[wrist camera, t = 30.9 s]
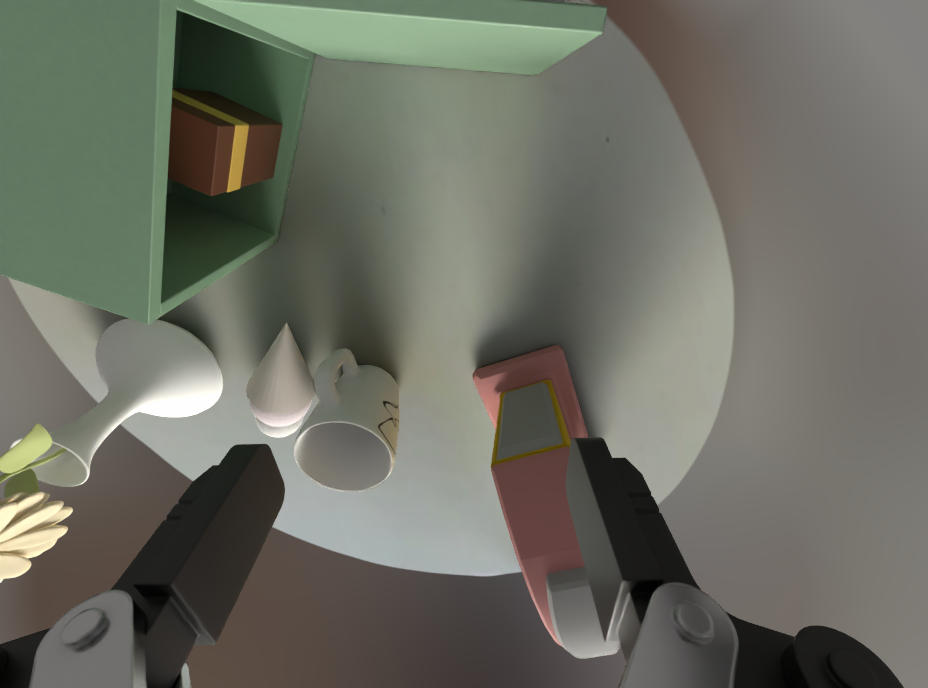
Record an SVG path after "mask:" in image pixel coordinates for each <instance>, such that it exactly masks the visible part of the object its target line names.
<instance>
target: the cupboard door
mask: <svg viewBox="0 0 928 688" xmlns="http://www.w3.org/2000/svg"><path fill="white" fill-rule="evenodd" d="M194 1H196V2H198V3H201V4H203V5H205V6H208V7H210V8H212V9H215V10H217V11H219V12H221V13H224V14H226V15H228V16H231V17H233V18H235V19H238V20H240V21H242V22H244V23H247V24H249V25H251V26H254V27H256V28H258V29H261V30H263V31H265V32H268V33H270V34H272V35H274V36H277V37H279V38H281V39H284V40H286V41H288V42H291V43H293V44H295V45H297V46H300V47H302V48H304V49H307V50H309V51H311V52H314V53H316V54H318V55H321V56H323V57H325V58H328V59H341V60H353V61H365V62H378V63H390V64H402V65H415V66H427V67H440V68H452V69H464V70H477V71H489V72H501V73H514V74H526V75H537V74H539V73H541V72H542V71H544V70H545V69H547V68H548V67H550V66H552V65H553V64H555V63H556V62H558V61H559V60H561V59H563V58H564V57H566V56H567V55H569V54H570V53H572V52H574V51H575V50H577V49H578V48H580V47H581V46H583V45H585V44H586V43H588V42H589V41H591V40H592V39H594V38H596V37H597V36H599V35H600V34H602V32H603V29H604V24H605V18H606V13H607V7H606V6H601V5H589V4H578V3H566V2H564V1H565V0H194Z"/></svg>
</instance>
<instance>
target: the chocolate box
mask: <svg viewBox="0 0 928 688" xmlns="http://www.w3.org/2000/svg"><path fill="white" fill-rule="evenodd" d="M282 126H283V124H282V123H280V122H277V121H275V120H273V119H271V118H269V117H267V116H264V115H262V114H260V113H258V112H256V111H253V110H251V109H249V108H247V107H245V106H243V105H240V104H238V103H236V102H234V101H232V100H230V99H227V98H225V97H223V96H221V95H219V94H217V93H214V92H210V91H201V90H192V89H183V88H173V87H172V104H171V122H170V141H169V159H168V177H167V178H168V179H171V180H173V181H176V182H178V183H181V184H183V185H185V186H188V187H190V188H193V189H195V190H198V191H200V192H203V193H205V194H207V195H210V196H214V195H217V194H220V193H224V192H231V191H234V190H237V189H240V187H244V186H247V185H250V184H253V183H257V182H260V181H263V180H267V179H270V178H273V176H274V171H275V165H276V160H277V154H278V148H279V143H280V137H281V132H282Z"/></svg>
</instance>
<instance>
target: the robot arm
mask: <svg viewBox="0 0 928 688" xmlns="http://www.w3.org/2000/svg"><path fill="white" fill-rule="evenodd" d="M284 494H285V487H284V482H283V479H282V477H281V474H280V471H279V469H278V466H277V464H276V461H275V459H274V456H273V454H272V451H271V449H270V447H269V446H268V445H267V444H242V445H235V446H233V447H232V448H231V449H230V450H229V452H228V453H227V454H226V456H225V457H224V459H223V460H222V461H221V463H220V464H219V465H216V466H212V467H210V468H209V469H208V470H207V471H206V472H204V473H203V474H202V475H201V476H199V477H198V478H197V479H196V480H194V481H193V482H192V484H191V485H190V486H189V488H188V489H187V490H186V492H185V493H184V494H183V495H182V497H181V498H180V499H179V503H178V504H177V505H175V506H174V507H173V509H172V510H171V512H170V513H169V514H168V515H167V519H166V521H163V522H162V523H161V525H160V526H159V527H158V529H157V530H156V531H155V533H154V534H153V535H152V537H151V538H150V539H149V541H148V542H147V543H146V545H145V546H144V547H143V548H142V550H141V551H140V552H139V554H138V555H137V556H136V558H135V559H134V560H133V562H132V563H131V564H130V566H129V567H128V568H127V570H126V571H125V572H124V573H123V575H122V576H121V578H120V579H119V580H118V581H117V583H116V584H115V585H114V586H113V587H112V589H111V590H110V591H105V592H102V593H99V594H96V595H94V596H92V597H90V598H88V599H86V600H84V601H82V602H81V603H79V604H78V605H76V606H75V607H73V608H72V609H71V610H69V611H68V612H67V613H66V614H64V616H62V617H61V618H60V619H59V620H58V621H57V622H56V623H55V624H54V625H53V626H52V627H51V628H49V629H46V630H43V631H40V632H37V633H34V634H31V635H28V636H24V637H21V638H18V639H15V640H12V641H9V642H6V643H3V644H0V688H191V682H190V672H189V666H188V663H187V662H186V660H187V658H188V656H189V654H190V652H191V650H192V648H193V646H194V645H200V644H201V645H204V644H206V645H208V644H216V642H217V640H218V638H219V636H220V634H221V632H222V630H223V628H224V626H225V623H226V621H227V619H228V617H229V615H230V613H231V611H232V609H233V607H234V605H235V603H236V601H237V599H238V596H239V594H240V592H241V590H242V588H243V586H244V584H245V582H246V580H247V578H248V575H249V573H250V571H251V569H252V567H253V565H254V563H255V561H256V559H257V557H258V555H259V553H260V551H261V548H262V546H263V544H264V542H265V540H266V538H267V536H268V534H269V532H270V530H271V528H272V526H273V523H274V521H275V519H276V517H277V515H278V513H279V511H280V509H281V507H282V504H283V500H284ZM566 494H567V500H568V504H569V508H570V512H571V516H572V520H573V523H574V527H575V531H576V535H577V539H578V542H579V546H580V550H581V554H582V558H583V561H584V565H585V569H586V573H587V577H588V580H589V584H590V588H591V592H592V596H593V599H594V603H595V607H596V611H597V615H598V619H599V622H600V626H601V630H602V634H603V638H604V641H605V643H620V644H621V647H622V651H623V654H624V657H625V660H626V666H625V669H624V671H623V674H622V677H621V680H620V683H619V686H618V688H903V686H902V684H901V683H900V682H899V680H898V679H897V678H896V676H895V675H894V674H893V673H892V671H891V670H890V669H889V668H888V667H887V666H886V664H885V663H884V662H883V661H882V660H881V659H880V658H879V657H878V656H876V655H875V654H874V653H873V652H872V651H871V650H869V649H868V648H867V647H865V646H864V645H863V644H861V643H860V642H858V641H857V640H855V639H854V638H852V637H850V636H848V635H846V634H845V633H842V632H840V631H837V630H835V629H832V628H828V627H825V626H808V627H805V628H803V629H802V630H800V631H799V632H798V634H797V635H796V636H795V637H793V636H790V635H787V634H783V633H780V632H777V631H774V630H771V629H768V628H765V627H762V626H758V625H755V624H752V623H749V622H746V621H744V620H741V619H738V618H736V617H734V616H732V615H730V614H729V613H727V612H726V611H724V609H723V608H722V607H721V606H720V605H719V604H718V603H717V602H716V601H715V600H714V599H713V598H711V597H710V596H709V595H708V594H706V593H705V592H703V591H702V590H701V589H700V588H699V586H698V585H697V584H696V582H695V581H694V579H693V577H692V575H691V573H690V571H689V569H688V567H687V565H686V563H685V561H684V559H683V557H682V555H681V553H680V551H679V549H678V547H677V545H676V543H675V541H674V539H673V537H672V534H671V532H670V530H669V528H668V526H667V525H666V522H665V520H664V518H663V517H662V514H661V513H659V508H658V506H657V504H656V502H655V500H654V498H653V497H652V496H651V492H650V490H649V488H648V486H647V484H646V482H645V480H644V478H643V475H642V474H641V473H640V472H639V471H638V470H637V469H636V468H635V467H634V466H633V465H632V464H631V463H630V462H629V461H628V460H627V459H626V458H612V457H611V454H610V452H609V450H608V447H607V445H606V443H605V441H604V439H603V438H601V437H593V438H572V440H571V444H570V451H569V458H568V466H567V473H566Z"/></svg>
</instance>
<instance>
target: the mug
mask: <svg viewBox="0 0 928 688" xmlns="http://www.w3.org/2000/svg"><path fill="white" fill-rule="evenodd" d="M341 365H342V369H343V375H342V376H341V377H340V378H339V379H338V380H337V381H336V382H335V374H336V372H337V370H338V369H339V368H340V366H341ZM314 385H315V390H316V393H317V396H318V398H319V400H320V401H319V403H318V404H317V406H316V407H315V409H314V410H313V412H312V413H311V415H310V416H309V418H308V419H307V421H306V422H305V424H304V426H303V427H302V429H301V430H300V432H299V434H298V436H297V438H296V440H295V444H294V457H295V460H296V462H297V464H298V466H299V468H300V469H301V470H302V472H303V473H304V474H305V475H306V476H307V477H309V478H310V479H311V480H313V481H314V482H316V483H318V484H320V485H322V486H324V487H327V488H330V489H333V490H338V491H344V492H358V491H364V490H368V489H371V488H374V487H376V486H378V485H379V484H381V483H382V482H383V481H384V480H385V479H386V478H387V477H388V476H389V474H390V473H391V471H392V468H393V466H394V461H395V455H396V447H397V439H398V431H399V392H398V387H397V384H396V382H395V380H394V378H393V377H392V376H391V375H390V374H389V373H388V372H386V371H385V370H383V369H381V368H379V367H376V366H372V365H360V366H357V363H356V360H355V358H354V356H353V354H352V352H351V351H350V350H349V349H345V348H344V349H338V350H336V351H334V352H333V353H332V354H331V355H330V356H329V357H328V358H327V359H326V360H325V361H323V362H322V363H321V364H320V365H319V367H318V369H317V370H316V372H315V375H314Z"/></svg>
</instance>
